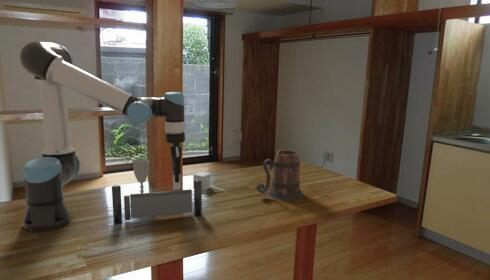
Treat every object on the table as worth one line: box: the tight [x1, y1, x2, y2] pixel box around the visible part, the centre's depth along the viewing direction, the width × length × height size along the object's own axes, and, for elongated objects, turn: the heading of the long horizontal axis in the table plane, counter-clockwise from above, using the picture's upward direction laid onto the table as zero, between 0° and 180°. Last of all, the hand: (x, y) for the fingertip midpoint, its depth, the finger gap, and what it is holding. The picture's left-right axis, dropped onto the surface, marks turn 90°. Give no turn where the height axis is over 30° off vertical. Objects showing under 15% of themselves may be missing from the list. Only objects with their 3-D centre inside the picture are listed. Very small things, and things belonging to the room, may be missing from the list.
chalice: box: [132, 158, 150, 194], centre depth 153 cm, size 7×7×18 cm
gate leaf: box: [123, 189, 193, 221], centre depth 138 cm, size 25×2×10 cm, turn 108°
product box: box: [192, 171, 212, 192], centre depth 173 cm, size 6×6×7 cm
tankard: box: [256, 149, 304, 201], centre depth 166 cm, size 24×17×20 cm
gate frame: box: [111, 180, 203, 225], centre depth 138 cm, size 33×3×14 cm, turn 108°
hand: (176, 188), depth 147 cm, fingers closed
